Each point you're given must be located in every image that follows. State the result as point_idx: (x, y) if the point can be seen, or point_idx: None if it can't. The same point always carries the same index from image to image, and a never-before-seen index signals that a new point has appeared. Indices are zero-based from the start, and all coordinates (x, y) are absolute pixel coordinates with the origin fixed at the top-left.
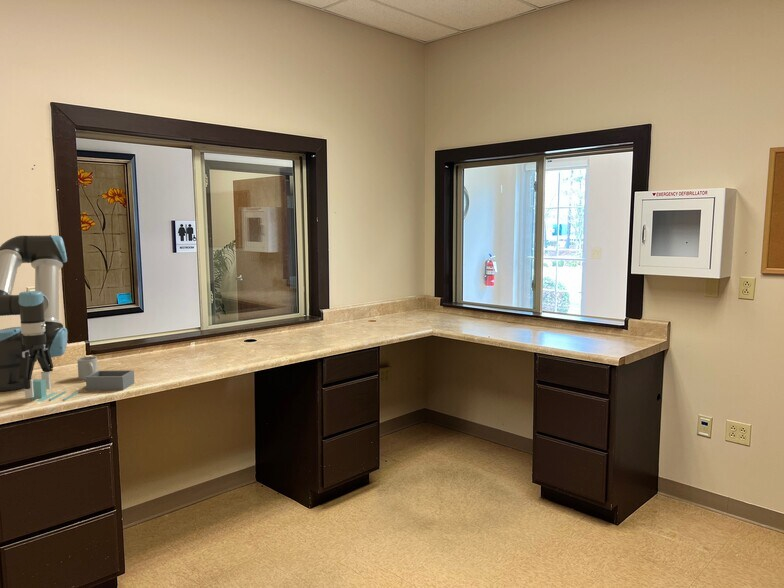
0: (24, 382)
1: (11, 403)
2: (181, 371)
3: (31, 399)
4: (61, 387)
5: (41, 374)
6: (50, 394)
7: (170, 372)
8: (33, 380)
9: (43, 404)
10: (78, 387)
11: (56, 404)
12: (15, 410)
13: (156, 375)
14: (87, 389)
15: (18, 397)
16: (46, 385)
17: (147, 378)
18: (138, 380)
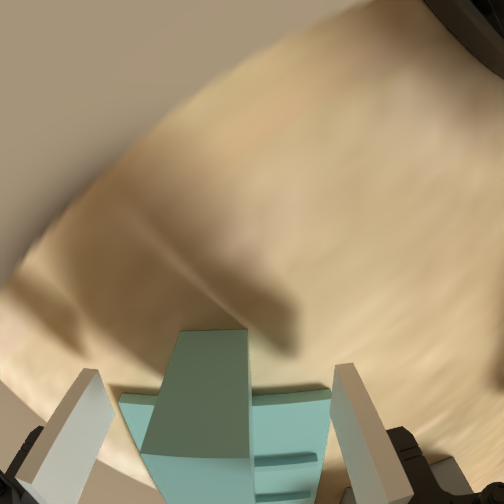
0: (12, 470)
1: (88, 233)
2: None
3: (180, 338)
4: (483, 328)
5: (379, 481)
6: (283, 412)
7: None
8: (199, 466)
9: (122, 433)
10: (451, 412)
11: (140, 473)
12: (9, 348)
13: None
14: (348, 500)
15: (254, 168)
16: (340, 415)
17: None
18: None
